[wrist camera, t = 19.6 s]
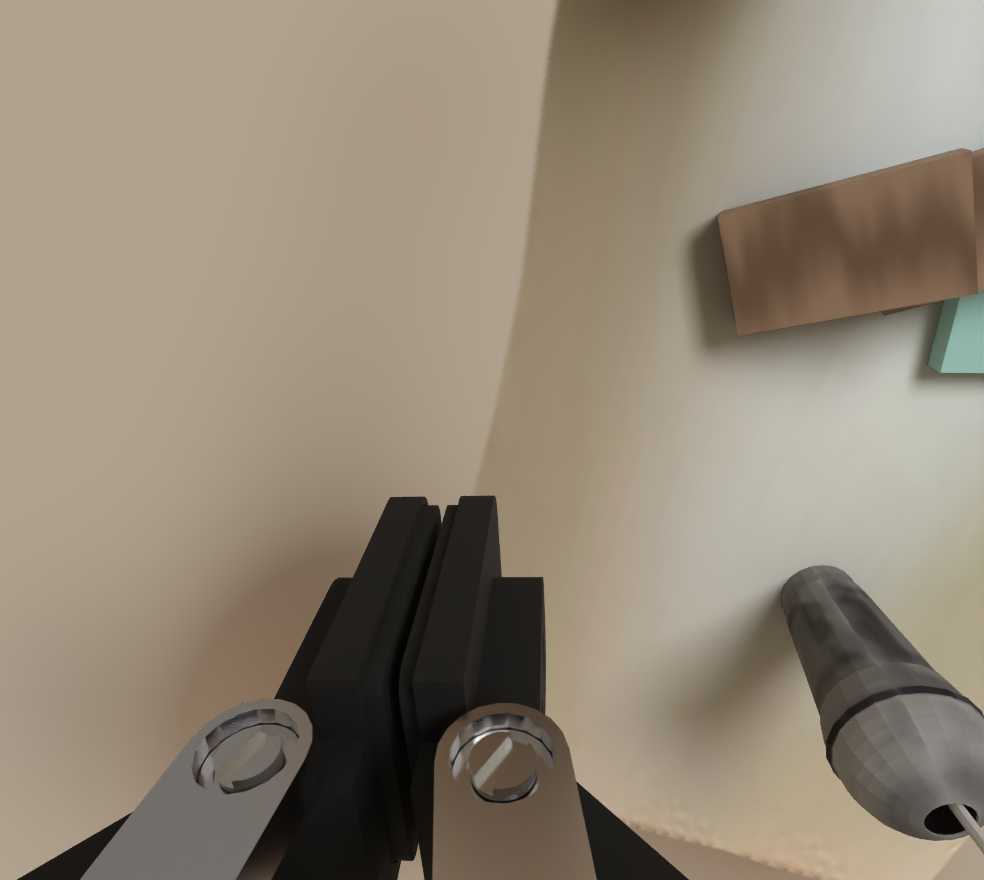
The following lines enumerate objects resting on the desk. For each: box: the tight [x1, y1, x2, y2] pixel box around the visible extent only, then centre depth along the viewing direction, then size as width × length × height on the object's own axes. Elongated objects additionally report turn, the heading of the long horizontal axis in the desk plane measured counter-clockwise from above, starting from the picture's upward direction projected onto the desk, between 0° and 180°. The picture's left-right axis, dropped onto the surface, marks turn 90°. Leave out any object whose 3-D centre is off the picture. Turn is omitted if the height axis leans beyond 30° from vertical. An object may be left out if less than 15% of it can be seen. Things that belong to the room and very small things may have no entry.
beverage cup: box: [781, 566, 984, 854], centre depth 33 cm, size 7×7×20 cm
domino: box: [718, 148, 978, 336], centre depth 31 cm, size 6×2×10 cm
